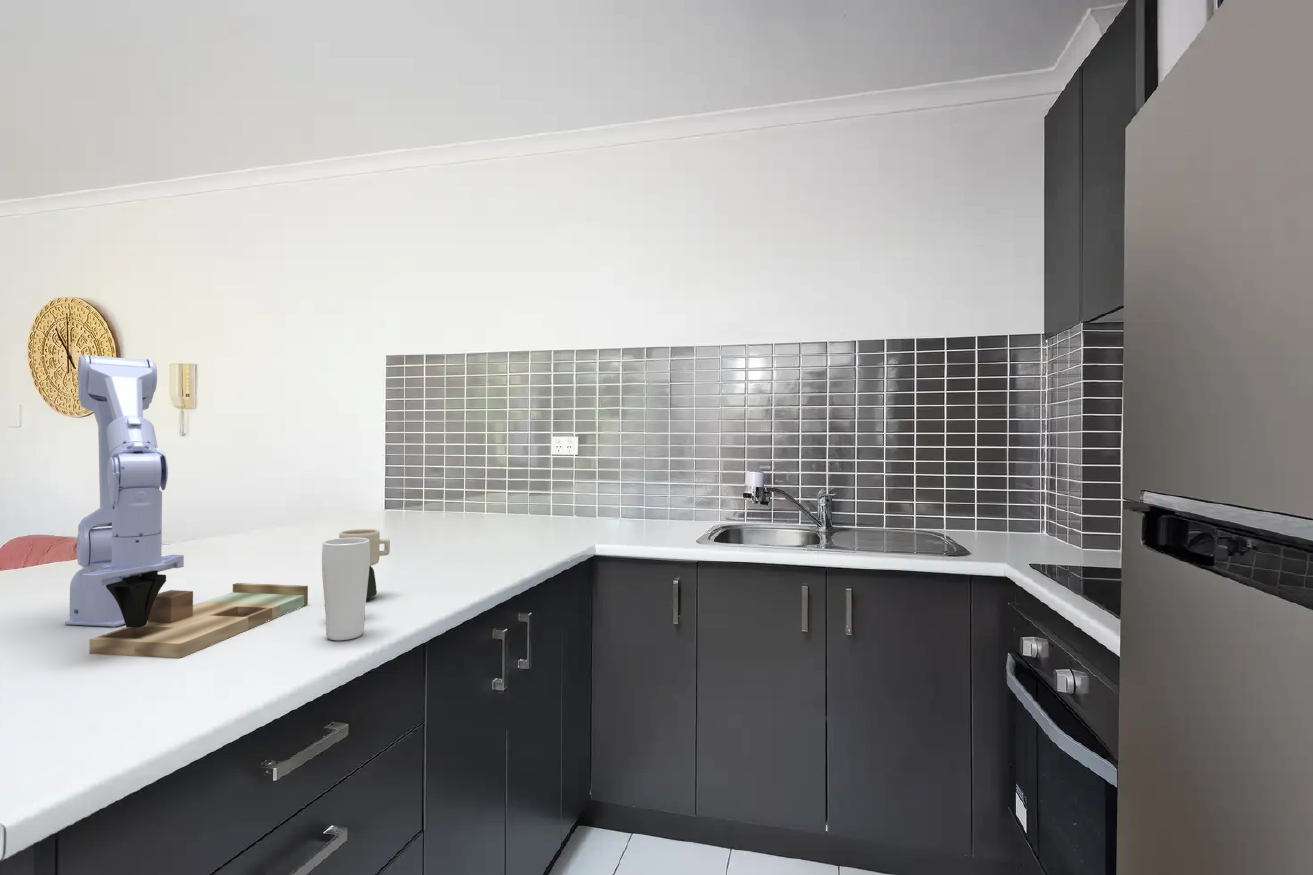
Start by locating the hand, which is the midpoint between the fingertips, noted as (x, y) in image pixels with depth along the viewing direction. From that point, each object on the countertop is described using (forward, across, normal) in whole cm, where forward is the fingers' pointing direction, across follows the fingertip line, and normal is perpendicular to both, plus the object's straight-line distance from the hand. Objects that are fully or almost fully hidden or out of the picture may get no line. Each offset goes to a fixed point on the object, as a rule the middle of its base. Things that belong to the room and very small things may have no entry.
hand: (136, 626), depth 94 cm
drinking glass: (+3, +8, -28) cm, 29 cm away
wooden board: (+3, +10, -4) cm, 11 cm away
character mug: (+3, +29, -18) cm, 34 cm away
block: (+1, +7, +1) cm, 7 cm away
